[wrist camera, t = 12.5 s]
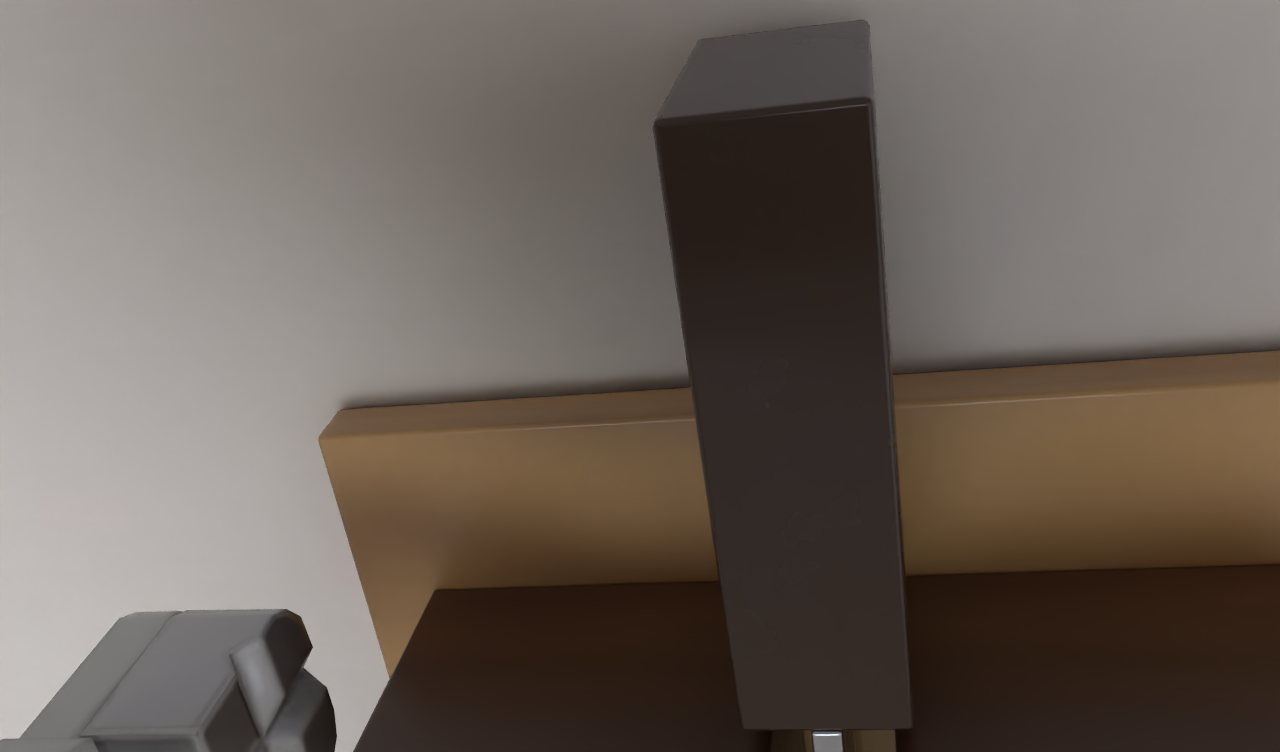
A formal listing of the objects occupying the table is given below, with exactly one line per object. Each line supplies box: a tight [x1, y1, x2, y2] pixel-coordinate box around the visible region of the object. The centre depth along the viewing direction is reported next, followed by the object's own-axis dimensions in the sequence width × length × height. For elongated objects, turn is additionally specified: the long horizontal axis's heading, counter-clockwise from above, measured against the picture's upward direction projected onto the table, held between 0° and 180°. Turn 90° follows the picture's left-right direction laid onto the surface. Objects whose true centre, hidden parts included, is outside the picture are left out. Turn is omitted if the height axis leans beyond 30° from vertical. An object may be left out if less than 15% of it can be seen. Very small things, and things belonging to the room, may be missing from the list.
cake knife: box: [653, 20, 915, 752], centre depth 18 cm, size 20×2×4 cm, turn 9°
